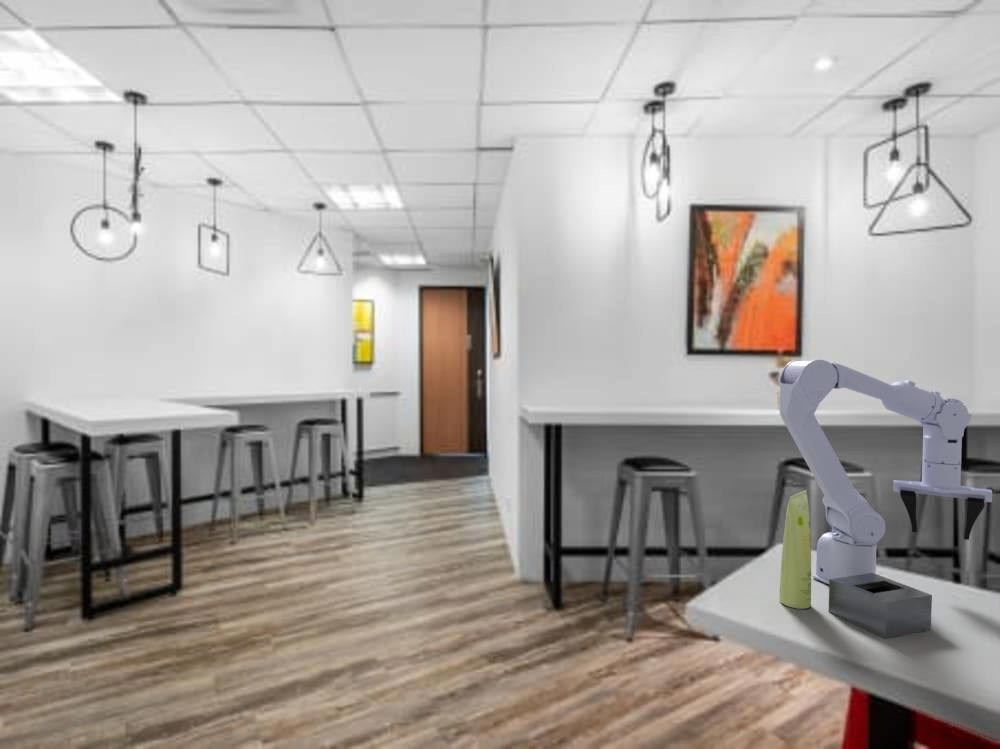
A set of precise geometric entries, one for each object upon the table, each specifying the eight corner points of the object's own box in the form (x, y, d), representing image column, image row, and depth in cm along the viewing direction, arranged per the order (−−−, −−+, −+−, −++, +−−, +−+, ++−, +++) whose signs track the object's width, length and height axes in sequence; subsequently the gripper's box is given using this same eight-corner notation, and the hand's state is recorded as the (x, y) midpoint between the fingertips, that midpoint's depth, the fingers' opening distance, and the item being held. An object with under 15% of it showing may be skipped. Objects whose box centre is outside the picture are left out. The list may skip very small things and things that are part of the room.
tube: (818, 612, 97) (821, 496, 97) (786, 610, 98) (789, 495, 97) (803, 598, 103) (806, 489, 102) (774, 596, 103) (776, 488, 103)
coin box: (828, 611, 97) (829, 579, 97) (871, 604, 101) (872, 572, 101) (885, 638, 88) (886, 602, 88) (930, 629, 91) (931, 595, 91)
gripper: (894, 460, 108) (892, 533, 108) (995, 469, 100) (993, 547, 100) (894, 456, 114) (892, 524, 114) (989, 463, 106) (987, 537, 106)
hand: (939, 534), depth 107 cm, fingers open, 7 cm apart
